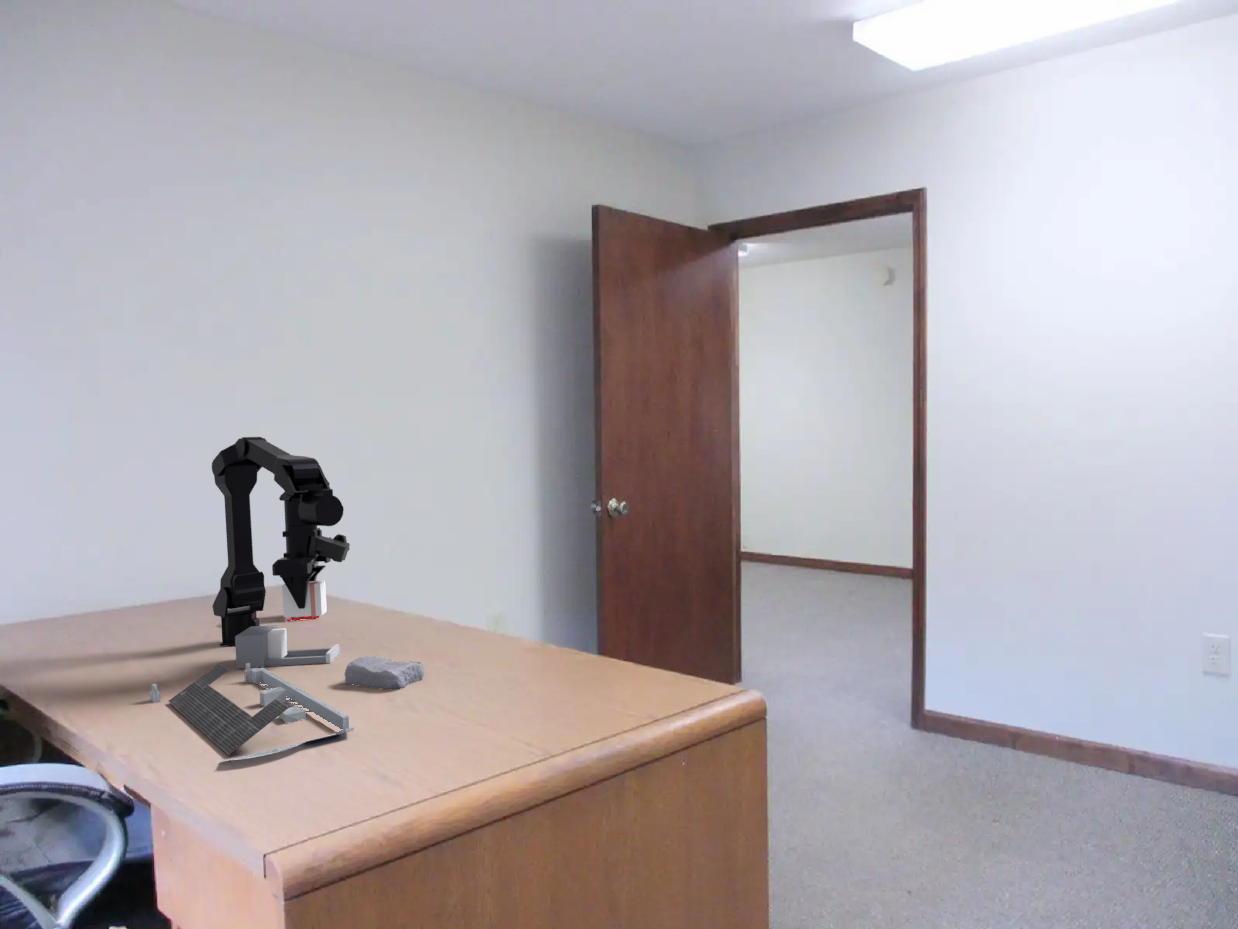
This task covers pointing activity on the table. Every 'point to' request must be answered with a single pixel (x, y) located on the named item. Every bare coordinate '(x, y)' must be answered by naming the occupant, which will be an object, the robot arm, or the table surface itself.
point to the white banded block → (313, 601)
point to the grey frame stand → (275, 649)
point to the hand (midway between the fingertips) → (304, 606)
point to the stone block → (383, 673)
